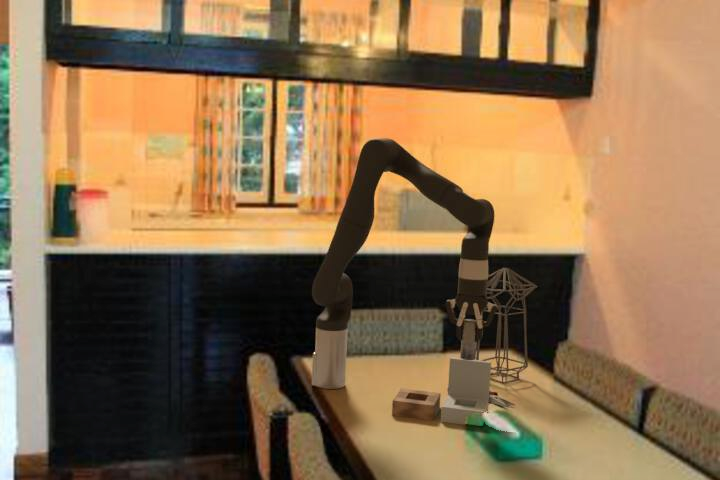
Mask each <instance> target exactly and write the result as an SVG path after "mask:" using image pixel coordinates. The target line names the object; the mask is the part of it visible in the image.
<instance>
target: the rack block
mask: <svg viewBox="0 0 720 480" xmlns="http://www.w3.org/2000/svg"><path fill="white" fill-rule="evenodd" d="M491 367H492V361H490V360H487V361H480V359H479V360H476V359H475V360H464V359H461V358H460V357H452V356H450V358H449V371H448V382H447V383H448V385H447V389H448V390H447V395H446V397H445V399H444V401H443V402H442V405H441V407H440V408H441V409H440V410H441V411H440V422H443V423H449V424H455V425H456V424H458V425H463V426H466V425H465V422H466V417H467V415H468V414H475V413H484V412H486V411H488V412H489V390H490V388H491V386H490V385H491V379H490V378H491V375H490V374H491V372H492V370H491Z"/></svg>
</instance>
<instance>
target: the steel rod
mask: <svg viewBox="0 0 720 480" xmlns="http://www.w3.org/2000/svg"><path fill="white" fill-rule="evenodd" d="M477 328H478V324H477V320H476V319H471V318H464V320H463V322H462V338H461V340H460V355H459V356H460V357H459V358H461V359H464V360H476V355H477V346H478V342H476V335H477Z"/></svg>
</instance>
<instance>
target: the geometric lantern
mask: <svg viewBox="0 0 720 480" xmlns="http://www.w3.org/2000/svg"><path fill="white" fill-rule="evenodd" d="M502 274H503V278H502V280H501V277H502ZM491 277H492V278H491ZM489 278H490V279H489ZM506 278H507V279H508V281H507V279H506ZM488 279H489V280H488V282H487V295H488V294H489V295H490V296H487V299H488V300H492V301H493V304H497V306H498V307H497V311H498V312H497V311H496V312H495V314H494V315H498V318H497V319H498V320H497V330H496V332H497V333H496V345H495V354H494V355H495V356H493V357H488V358H483V359H481V360H480V359H479V357H480V346H481V345H480V344H481V340H480V341H479V342H477V345H476V359H475V360H480V361H492V360H494V359H495V361H496V366H495V367H492V366H491V374H490V376H492V375H496V376H499V377H501V380H498V379H496V378H493V377H490V380H492V381H496V382H499V383H501V384H507V383H512V382H514V381H518V380H520V373H521V372H522V371H524V370H526V369H527V368H528V367H529V362H528V360H529V359H528V342H527V341H528V340H527V307H526V297H527V296H528V295H529V294H531V293H532V292H533V291H534V290H535V289H536V288H538V286H537V285H536V284H534V283H533V282H531V281H529V280H528V279H527V278H525V277H523V276H521V275H520V274H518V273H517V272H515V271H514V270H512V269H510V268H508V267H502V268H501V269H498V270H497V271H494V272H493V273H491V274H488ZM519 279H520V280H521V281H523V282H525V283H527V284H523V283H522V282H521V281H520V280H519ZM499 282H501V283H502V284H503V285H502V286H503V289H496V288H497V286H498V284H499ZM488 287H490V288H488ZM507 287H508V288H509V289H508V290H507ZM512 287H513V288H512ZM526 287H528V288H526ZM519 291H522V293H520V292H519ZM493 292H497V293H496V294H494V293H493ZM504 292H507V293H509V295H511V297H510V299H509V300H508V301H507V303H506V304H505V305H501V303H500V302H499V301H498V299H497V298H496V297H497V296H499V295H501V294H502V293H504ZM516 296H517V297H516ZM513 299H514V301H513V302H512V303H511V301H512V300H513ZM517 301H521V303H522V307H523V308H519V307H513V305H514V304H515V303H516V302H517ZM510 303H511V305H510ZM509 305H510V306H509ZM502 308H504V313H503V312H502V311H501V310H502ZM510 309H513V310H519V311H520V312H512V313H508V312H509V311H510ZM484 312H488V313H490V312H489V311H488V306H486V307H485V308H484V309H483V311H482V312H481V313H482V317H483V315H484ZM518 314H523V324H524V325H523V330H524V361H521V360H517V359H513V358H509V333H508V330H509V329H508V327H509V326H508V324H509V323H508V316H510V315H513V316H514V315H518ZM502 316H503V317H504V318H503V320H504V323H503V324H504V325H503V326H504V328H503V330H504V331H503V356H501V340H502V337H501V336H502ZM501 359H502V361H501ZM505 360H506V367H503V364H504V362H505ZM509 361H511V362H515V363H518V364H519V363H520V364H521V365H522V364H523V365H522V366H518V367H512V368H509ZM492 370H494V371H495V372H493V371H492ZM510 371H513V373H510V374H508V373H509V372H510ZM508 376H509V377H512V378H515V379H512V380H511V379H510V380H508V381H507V378H508ZM504 378H505V381H504Z"/></svg>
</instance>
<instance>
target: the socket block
mask: <svg viewBox="0 0 720 480" xmlns="http://www.w3.org/2000/svg"><path fill="white" fill-rule="evenodd" d="M391 404H392V405H391V416H398V417H405V418H411V419H419V420H425V421H434V419H435V418H436V416H437V414H438V412H439V410H440V408H441V393H440V392H433V391H425V390H417V389H409V388H402V387H401V388H400V389H399V391H398V392H397V394H396V395H395V397H394V398H393V399H392V403H391Z"/></svg>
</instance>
